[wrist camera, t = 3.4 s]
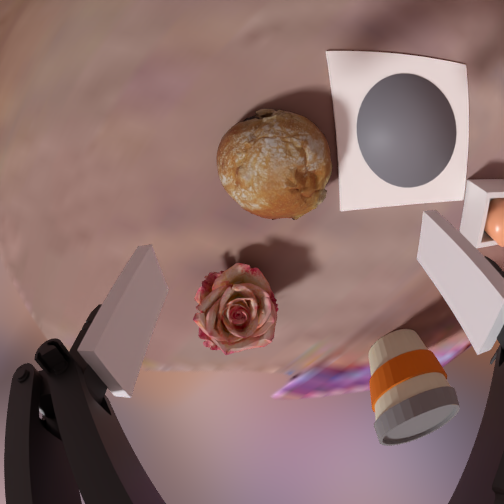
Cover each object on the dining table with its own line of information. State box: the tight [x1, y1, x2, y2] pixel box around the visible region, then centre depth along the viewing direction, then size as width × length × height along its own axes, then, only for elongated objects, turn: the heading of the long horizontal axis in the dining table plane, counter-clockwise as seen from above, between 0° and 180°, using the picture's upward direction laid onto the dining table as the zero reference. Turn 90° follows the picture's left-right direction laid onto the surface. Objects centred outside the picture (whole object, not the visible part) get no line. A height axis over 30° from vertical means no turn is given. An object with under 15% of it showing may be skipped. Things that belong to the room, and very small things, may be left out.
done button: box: [484, 198, 504, 247], centre depth 23 cm, size 5×5×3 cm
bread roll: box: [217, 109, 332, 220], centre depth 24 cm, size 10×10×8 cm
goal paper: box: [326, 51, 469, 211], centre depth 24 cm, size 16×16×1 cm
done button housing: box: [459, 179, 504, 248], centre depth 26 cm, size 7×7×4 cm
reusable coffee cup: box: [369, 329, 460, 446], centre depth 35 cm, size 13×13×15 cm
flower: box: [193, 263, 278, 355], centre depth 32 cm, size 10×9×8 cm
